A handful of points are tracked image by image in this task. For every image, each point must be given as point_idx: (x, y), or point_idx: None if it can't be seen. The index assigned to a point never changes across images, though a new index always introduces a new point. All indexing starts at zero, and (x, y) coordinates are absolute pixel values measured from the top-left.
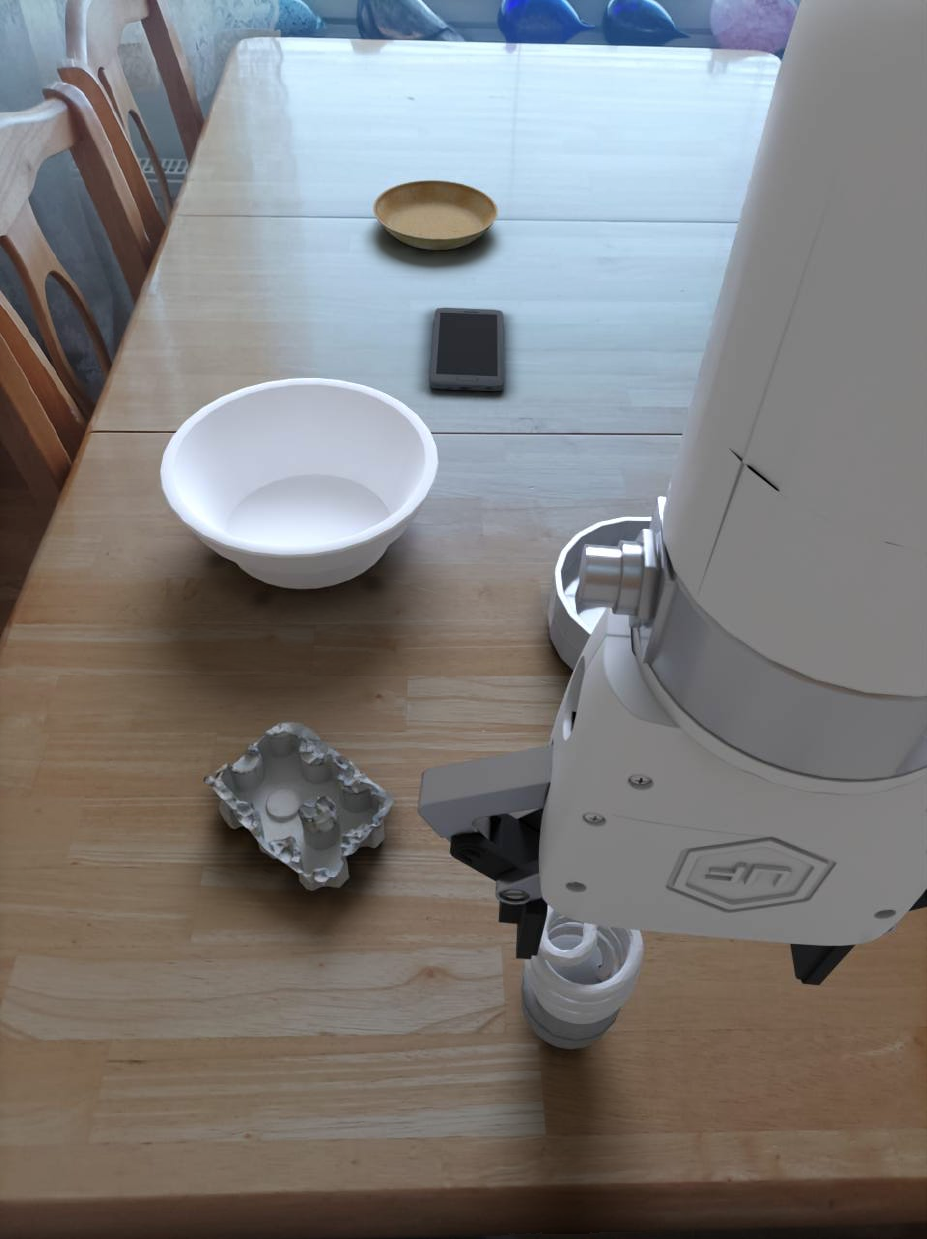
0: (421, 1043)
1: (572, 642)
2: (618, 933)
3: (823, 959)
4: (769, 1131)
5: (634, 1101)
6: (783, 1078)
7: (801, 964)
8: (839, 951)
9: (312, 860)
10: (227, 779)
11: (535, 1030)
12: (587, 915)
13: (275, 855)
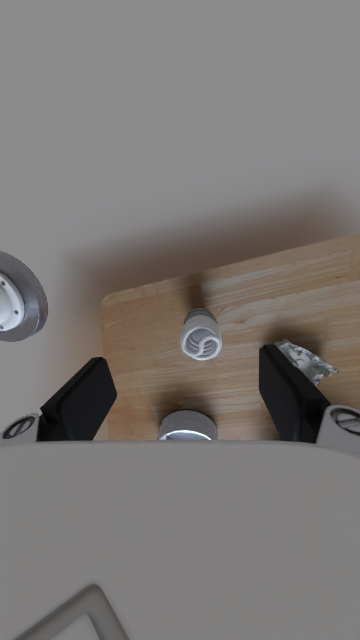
0: (241, 301)
1: (210, 429)
2: (189, 346)
3: (78, 381)
4: (138, 297)
5: (176, 298)
6: (135, 312)
7: (100, 369)
8: (60, 393)
9: (285, 348)
10: (323, 370)
11: (209, 311)
12: (350, 483)
13: (304, 349)
